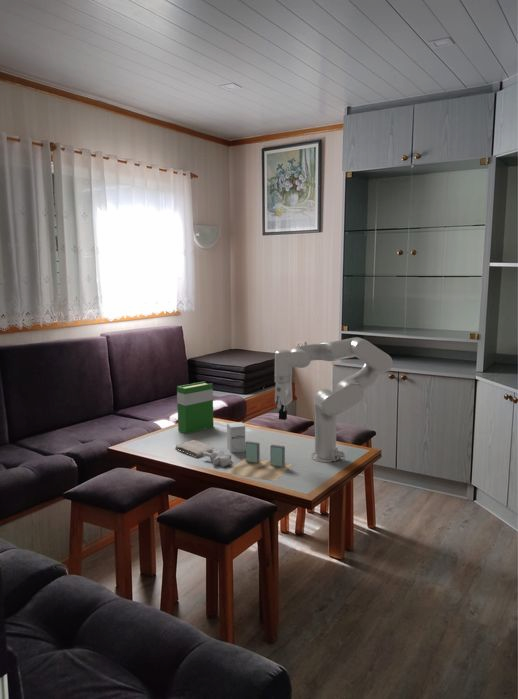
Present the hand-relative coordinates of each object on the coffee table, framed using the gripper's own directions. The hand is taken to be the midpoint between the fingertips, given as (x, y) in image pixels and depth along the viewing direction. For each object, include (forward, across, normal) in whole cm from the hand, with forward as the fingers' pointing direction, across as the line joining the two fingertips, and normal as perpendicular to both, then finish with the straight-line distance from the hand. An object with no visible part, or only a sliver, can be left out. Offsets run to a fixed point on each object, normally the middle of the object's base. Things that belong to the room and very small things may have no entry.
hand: (282, 419), depth 242 cm
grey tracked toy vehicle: (+20, -3, +44) cm, 48 cm away
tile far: (+19, -7, +12) cm, 23 cm away
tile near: (+19, -7, 0) cm, 20 cm away
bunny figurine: (+20, -13, +26) cm, 35 cm away
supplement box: (+20, +5, +26) cm, 33 cm away
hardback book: (+20, +27, +61) cm, 69 cm away
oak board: (+20, -13, +6) cm, 24 cm away
